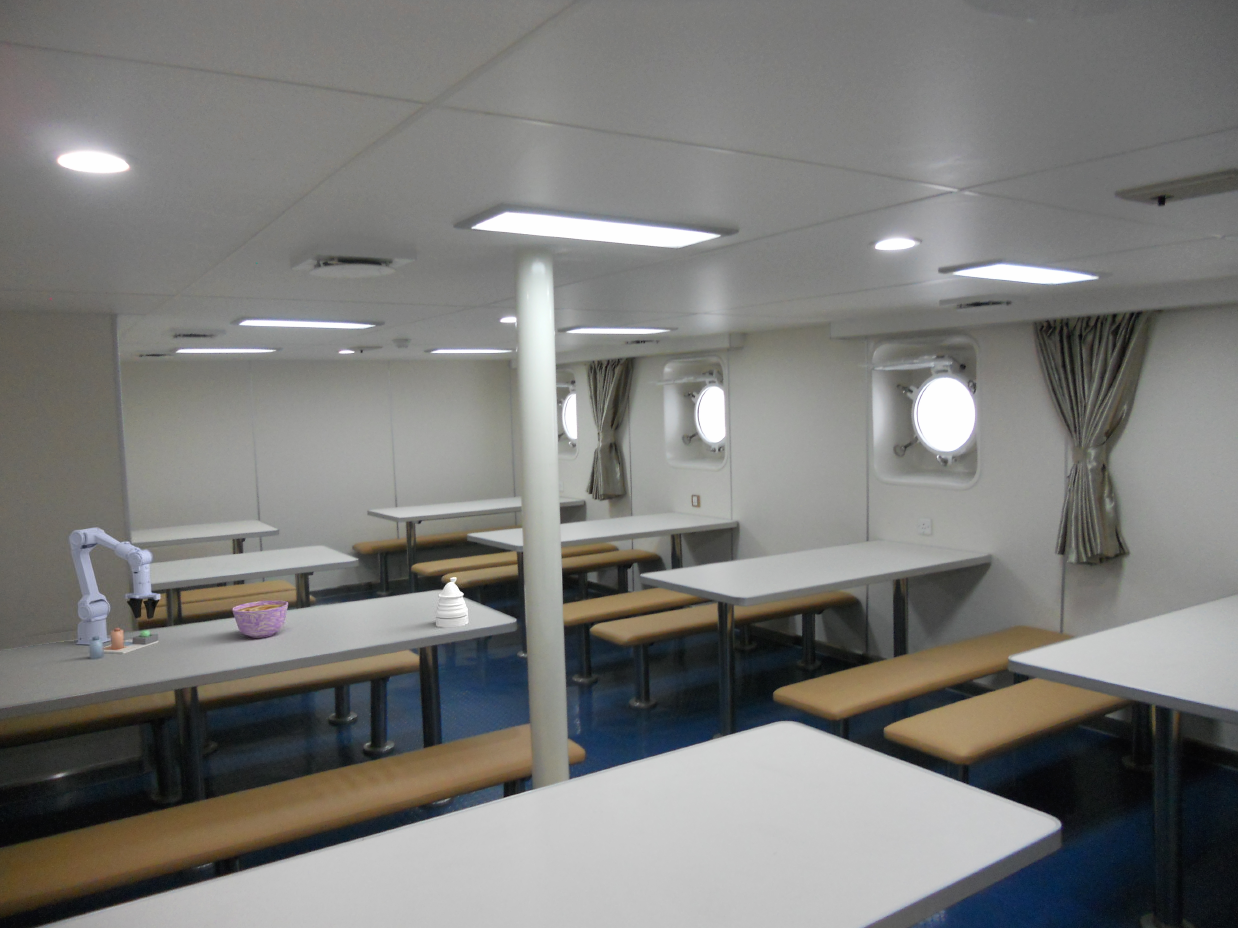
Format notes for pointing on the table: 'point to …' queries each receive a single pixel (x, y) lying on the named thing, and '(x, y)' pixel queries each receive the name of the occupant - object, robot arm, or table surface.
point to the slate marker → (96, 648)
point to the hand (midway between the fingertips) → (144, 617)
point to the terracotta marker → (117, 639)
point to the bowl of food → (260, 617)
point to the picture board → (133, 644)
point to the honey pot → (451, 607)
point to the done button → (145, 633)
